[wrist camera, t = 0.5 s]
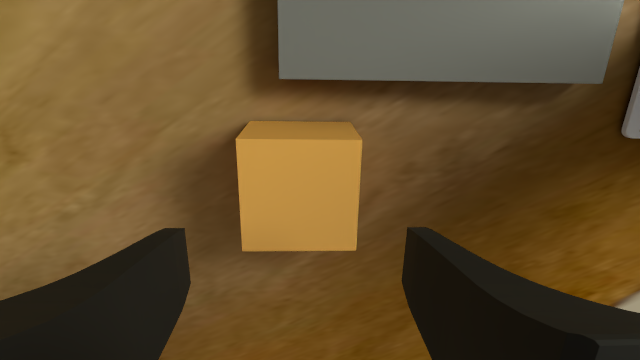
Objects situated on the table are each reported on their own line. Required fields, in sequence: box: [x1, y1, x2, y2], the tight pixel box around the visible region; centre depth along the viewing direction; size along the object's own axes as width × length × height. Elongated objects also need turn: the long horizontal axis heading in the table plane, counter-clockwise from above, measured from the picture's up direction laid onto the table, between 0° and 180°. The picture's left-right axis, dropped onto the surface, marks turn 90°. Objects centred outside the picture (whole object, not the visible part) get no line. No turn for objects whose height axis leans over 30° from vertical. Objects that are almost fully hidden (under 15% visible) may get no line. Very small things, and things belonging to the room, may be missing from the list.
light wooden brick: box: [236, 121, 362, 251], centre depth 19 cm, size 5×5×4 cm
